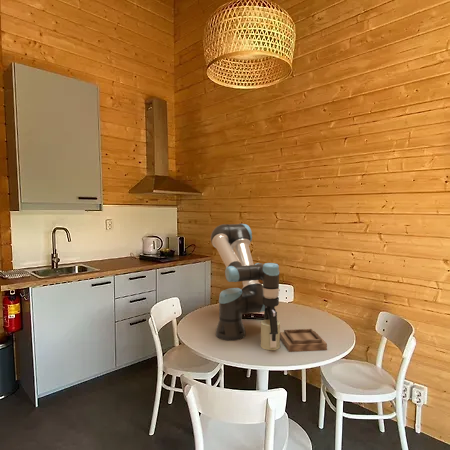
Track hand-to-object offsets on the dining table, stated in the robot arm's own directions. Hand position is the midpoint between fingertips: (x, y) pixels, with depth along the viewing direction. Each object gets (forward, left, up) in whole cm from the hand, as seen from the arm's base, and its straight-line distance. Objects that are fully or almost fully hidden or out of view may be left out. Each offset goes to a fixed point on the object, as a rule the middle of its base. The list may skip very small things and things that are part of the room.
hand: (270, 342), depth 164 cm
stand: (+16, +1, -2) cm, 16 cm away
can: (0, 0, -2) cm, 2 cm away
